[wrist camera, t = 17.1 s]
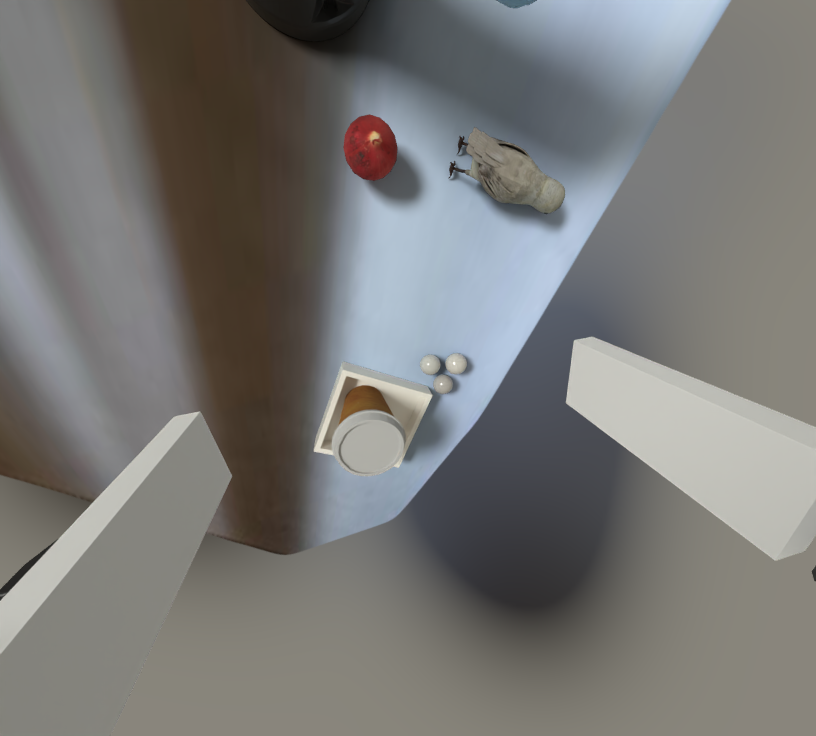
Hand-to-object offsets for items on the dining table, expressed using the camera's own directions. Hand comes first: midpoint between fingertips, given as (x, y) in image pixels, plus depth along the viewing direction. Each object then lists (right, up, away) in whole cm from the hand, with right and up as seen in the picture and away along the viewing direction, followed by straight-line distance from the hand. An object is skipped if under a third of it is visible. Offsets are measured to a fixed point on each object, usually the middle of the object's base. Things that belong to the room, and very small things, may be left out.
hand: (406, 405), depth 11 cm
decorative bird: (+12, +27, +30) cm, 42 cm away
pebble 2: (+5, -1, +39) cm, 40 cm away
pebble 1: (+3, +2, +38) cm, 38 cm away
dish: (-6, -6, +39) cm, 40 cm away
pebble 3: (+7, +3, +38) cm, 39 cm away
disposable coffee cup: (-7, -4, +37) cm, 38 cm away
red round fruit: (-5, +27, +26) cm, 38 cm away
